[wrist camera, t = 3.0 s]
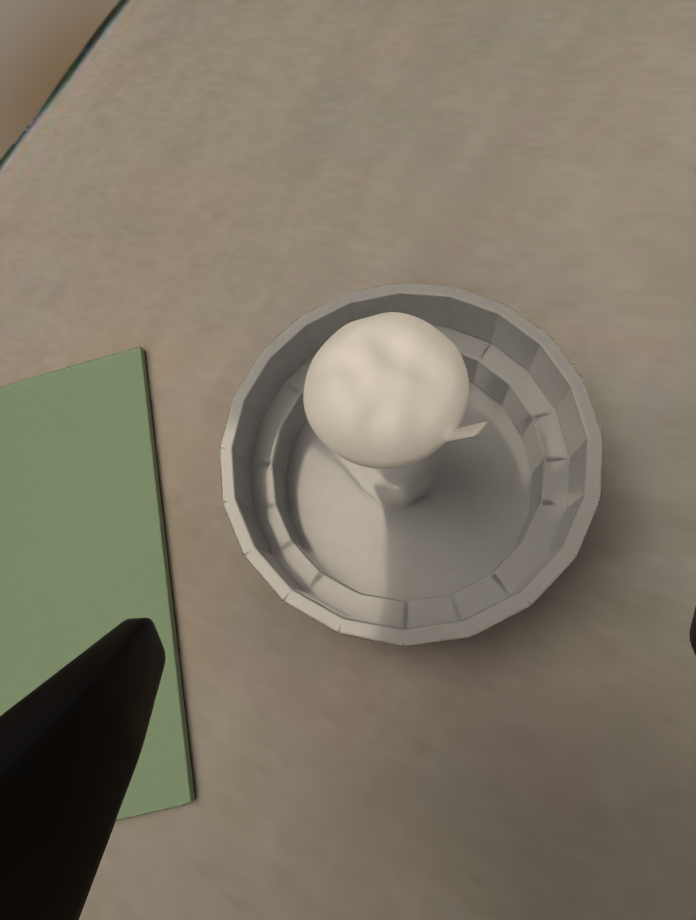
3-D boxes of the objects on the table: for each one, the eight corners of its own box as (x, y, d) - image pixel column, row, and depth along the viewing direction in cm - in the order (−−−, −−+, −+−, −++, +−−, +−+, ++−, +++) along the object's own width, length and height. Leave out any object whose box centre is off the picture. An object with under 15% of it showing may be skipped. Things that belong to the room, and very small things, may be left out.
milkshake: (418, 559, 20) (416, 505, 11) (323, 476, 22) (248, 365, 12) (490, 476, 21) (547, 356, 11) (392, 401, 22) (371, 242, 13)
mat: (195, 799, 19) (190, 803, 19) (-120, 873, 20) (-131, 878, 19) (144, 349, 26) (140, 345, 25) (-91, 417, 26) (-99, 414, 26)
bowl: (486, 705, 19) (504, 730, 14) (204, 544, 22) (152, 526, 18) (612, 410, 21) (660, 357, 17) (344, 306, 25) (328, 241, 20)
